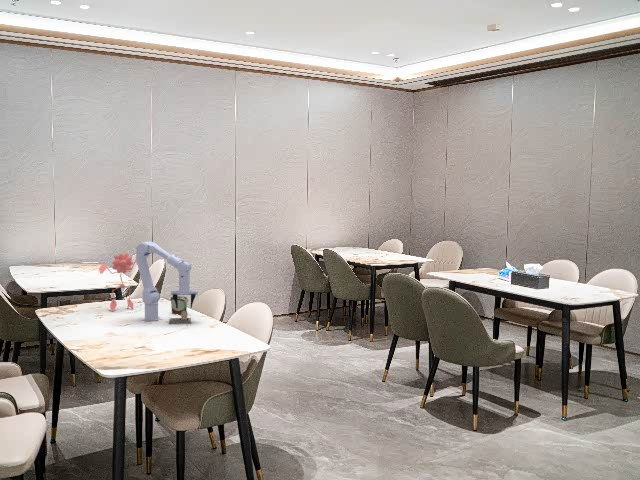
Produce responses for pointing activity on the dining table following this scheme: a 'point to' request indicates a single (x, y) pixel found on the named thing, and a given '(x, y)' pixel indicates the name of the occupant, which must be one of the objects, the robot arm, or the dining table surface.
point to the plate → (179, 321)
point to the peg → (183, 315)
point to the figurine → (121, 265)
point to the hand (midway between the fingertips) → (184, 307)
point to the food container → (179, 305)
